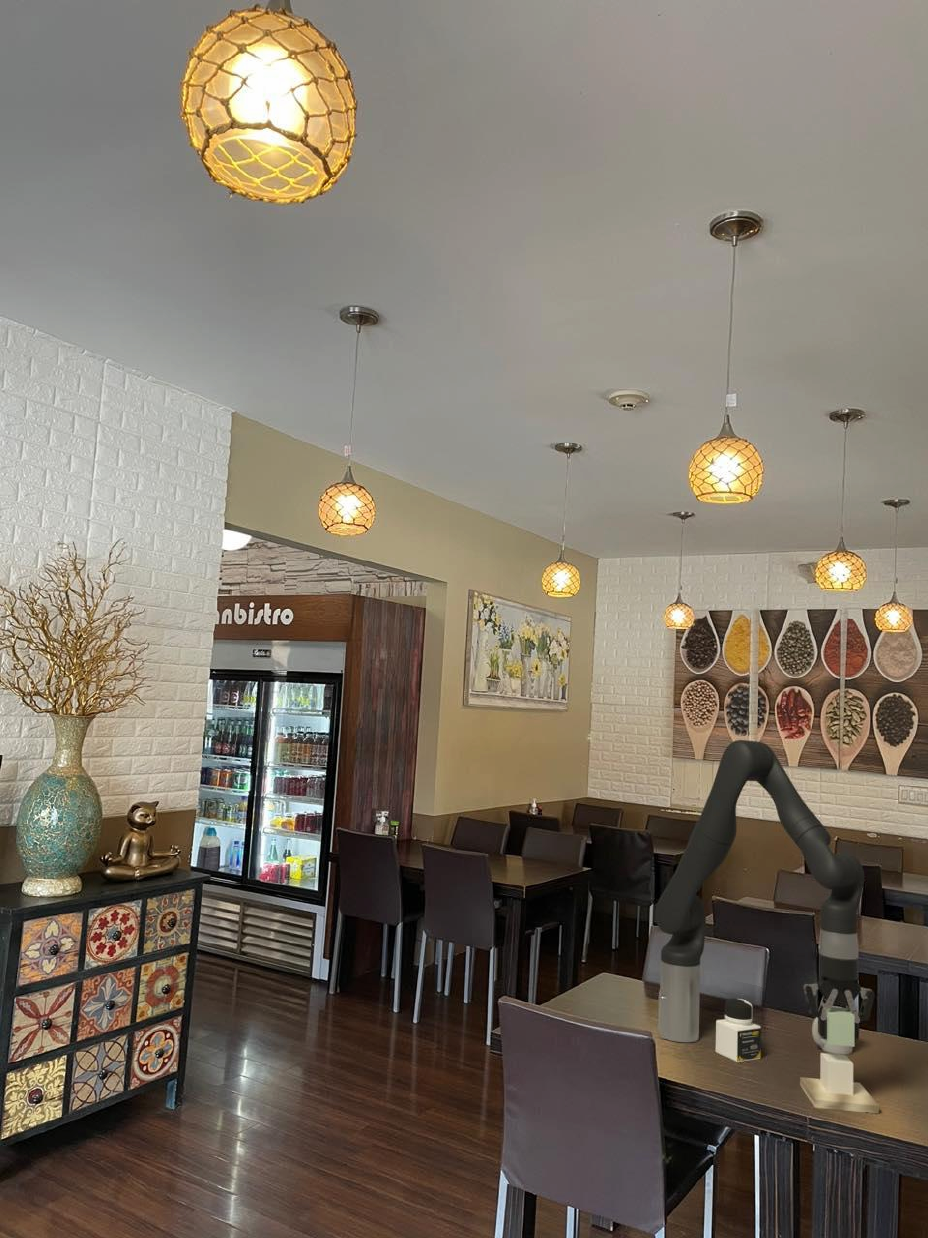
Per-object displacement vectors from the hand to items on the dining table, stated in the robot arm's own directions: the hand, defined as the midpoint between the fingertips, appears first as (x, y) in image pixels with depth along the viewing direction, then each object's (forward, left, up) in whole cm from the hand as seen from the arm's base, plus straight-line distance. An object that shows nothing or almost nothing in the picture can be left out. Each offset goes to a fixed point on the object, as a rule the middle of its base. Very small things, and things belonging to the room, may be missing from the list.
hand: (838, 1039), depth 189 cm
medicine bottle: (-16, +21, -12) cm, 29 cm away
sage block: (0, 0, 0) cm, 1 cm away
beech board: (0, 0, -12) cm, 12 cm away
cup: (+7, +31, -12) cm, 34 cm away
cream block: (0, +1, -10) cm, 10 cm away
